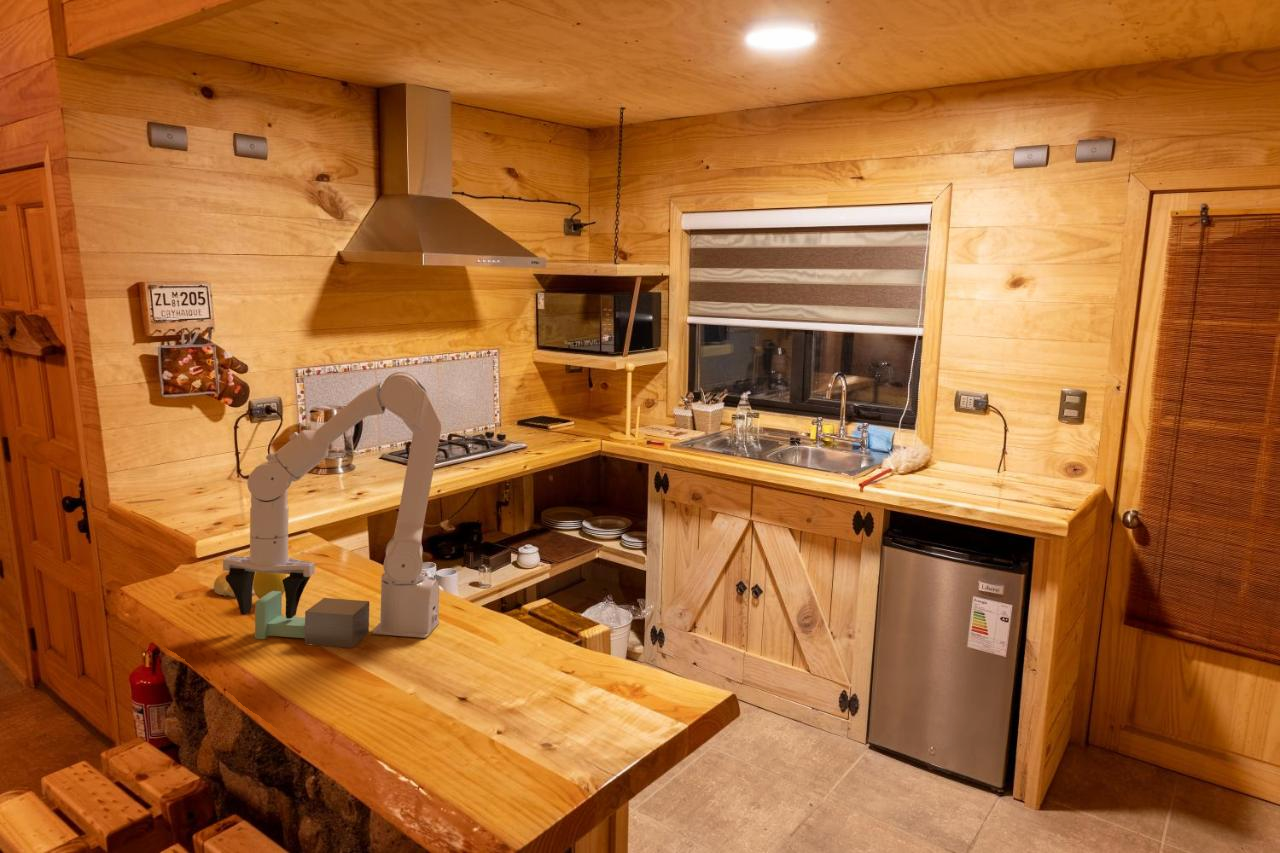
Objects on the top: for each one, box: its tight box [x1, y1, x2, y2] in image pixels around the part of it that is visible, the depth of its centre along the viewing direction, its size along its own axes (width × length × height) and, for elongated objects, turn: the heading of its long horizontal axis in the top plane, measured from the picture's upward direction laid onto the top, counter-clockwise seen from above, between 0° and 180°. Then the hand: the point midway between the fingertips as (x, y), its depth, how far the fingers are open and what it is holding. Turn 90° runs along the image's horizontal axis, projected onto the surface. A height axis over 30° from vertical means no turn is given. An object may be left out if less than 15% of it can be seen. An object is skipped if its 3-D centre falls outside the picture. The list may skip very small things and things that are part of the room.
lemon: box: [253, 572, 287, 600], centre depth 148 cm, size 6×6×8 cm
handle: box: [254, 591, 305, 640], centre depth 134 cm, size 14×6×6 cm, turn 87°
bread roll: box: [213, 571, 256, 598], centre depth 155 cm, size 8×9×4 cm
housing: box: [304, 597, 370, 649], centre depth 134 cm, size 8×7×6 cm
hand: (268, 614), depth 135 cm, fingers open, 7 cm apart
